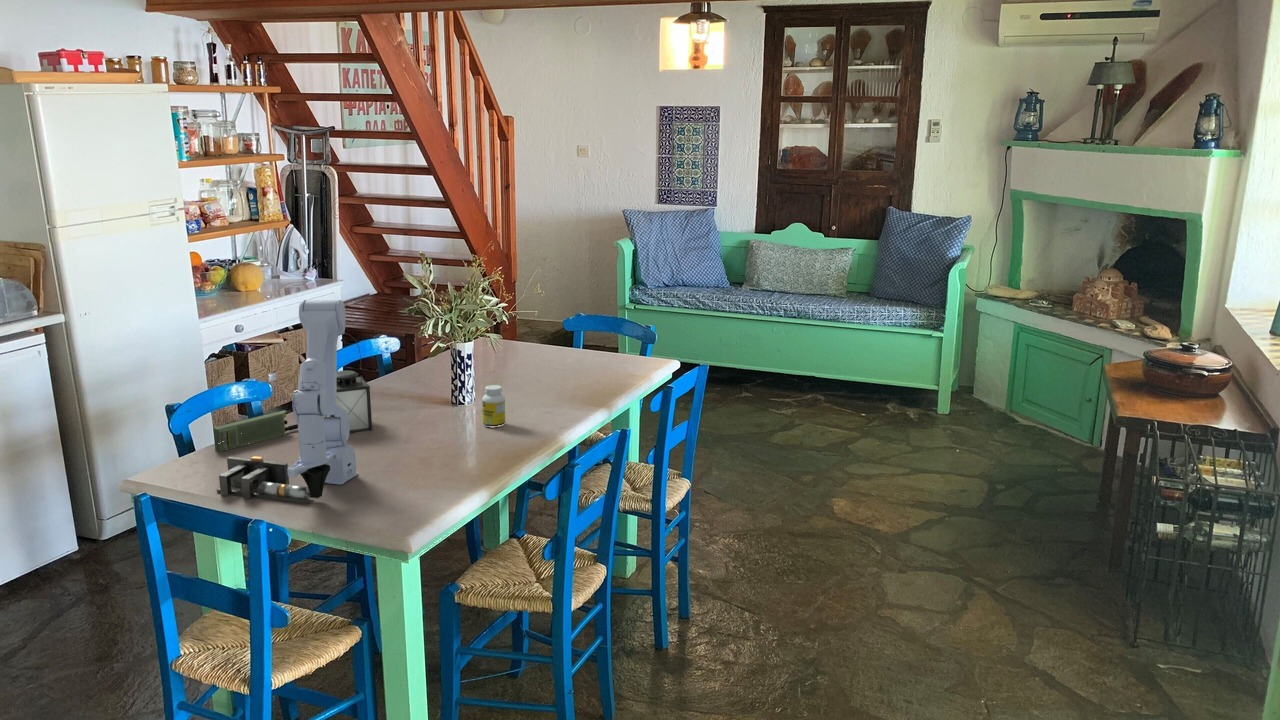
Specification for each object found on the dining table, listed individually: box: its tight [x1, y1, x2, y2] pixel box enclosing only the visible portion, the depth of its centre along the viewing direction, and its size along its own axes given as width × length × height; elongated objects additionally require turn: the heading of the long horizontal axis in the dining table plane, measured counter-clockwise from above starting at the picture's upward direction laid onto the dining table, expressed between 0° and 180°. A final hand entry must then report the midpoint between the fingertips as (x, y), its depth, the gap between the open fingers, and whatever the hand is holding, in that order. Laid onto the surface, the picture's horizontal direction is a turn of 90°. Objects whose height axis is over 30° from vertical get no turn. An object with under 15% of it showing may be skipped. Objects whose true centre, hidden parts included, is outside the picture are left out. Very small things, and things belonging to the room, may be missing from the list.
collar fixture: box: [216, 455, 309, 505], centre depth 222 cm, size 26×9×7 cm, turn 75°
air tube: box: [257, 482, 311, 501], centre depth 220 cm, size 12×3×3 cm, turn 75°
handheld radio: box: [213, 410, 298, 452], centre depth 259 cm, size 7×3×25 cm
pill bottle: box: [481, 384, 506, 427], centre depth 273 cm, size 6×6×12 cm
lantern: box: [324, 332, 373, 434], centre depth 268 cm, size 11×11×28 cm
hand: (316, 496), depth 218 cm, fingers closed
